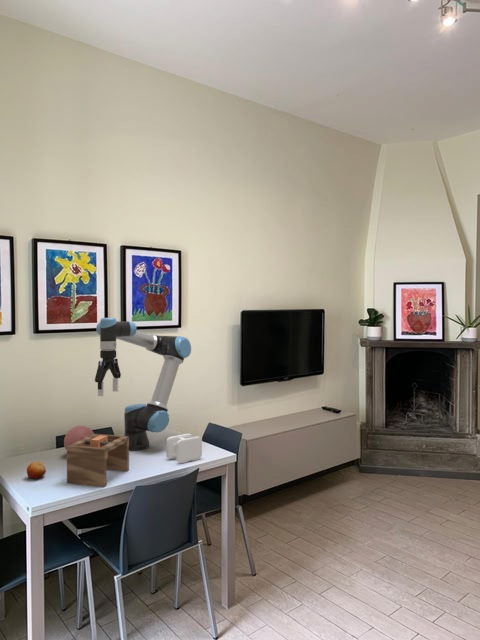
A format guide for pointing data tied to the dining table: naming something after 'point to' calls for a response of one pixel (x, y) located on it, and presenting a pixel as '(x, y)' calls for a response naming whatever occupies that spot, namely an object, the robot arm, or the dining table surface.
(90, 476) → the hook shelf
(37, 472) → the fruit
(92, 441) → the orange arch block
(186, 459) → the cable organizer
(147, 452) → the dining table surface
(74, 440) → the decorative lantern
